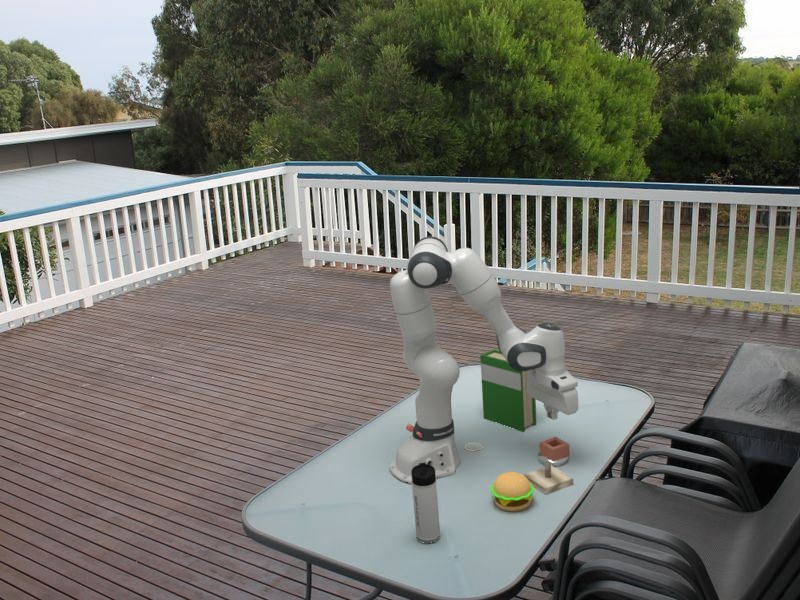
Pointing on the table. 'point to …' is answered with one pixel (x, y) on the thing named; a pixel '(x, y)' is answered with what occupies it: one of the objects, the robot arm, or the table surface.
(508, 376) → the hardback book
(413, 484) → the travel mug
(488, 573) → the table surface
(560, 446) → the brown square ring block
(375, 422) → the table surface
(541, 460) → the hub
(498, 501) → the hamburger
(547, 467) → the stand
